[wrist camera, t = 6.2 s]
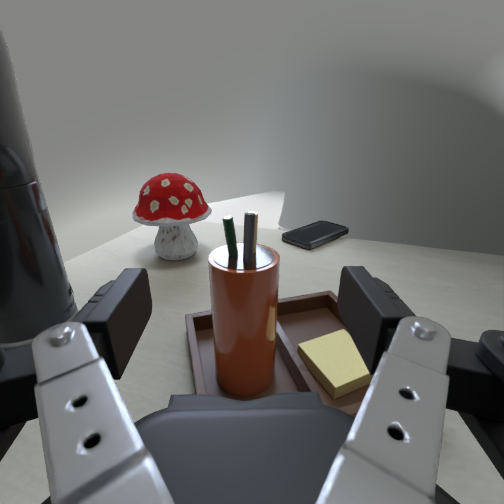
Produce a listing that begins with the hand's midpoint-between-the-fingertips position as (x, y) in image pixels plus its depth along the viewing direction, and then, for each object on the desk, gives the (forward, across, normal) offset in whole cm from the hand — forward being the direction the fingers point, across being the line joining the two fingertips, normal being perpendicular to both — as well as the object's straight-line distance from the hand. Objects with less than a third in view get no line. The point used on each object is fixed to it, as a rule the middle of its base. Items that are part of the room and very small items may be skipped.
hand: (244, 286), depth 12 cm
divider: (+12, -4, +17) cm, 21 cm away
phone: (+50, -16, +16) cm, 55 cm away
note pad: (+12, -9, +16) cm, 22 cm away
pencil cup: (+11, 0, +16) cm, 20 cm away
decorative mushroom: (+41, +13, +17) cm, 46 cm away
